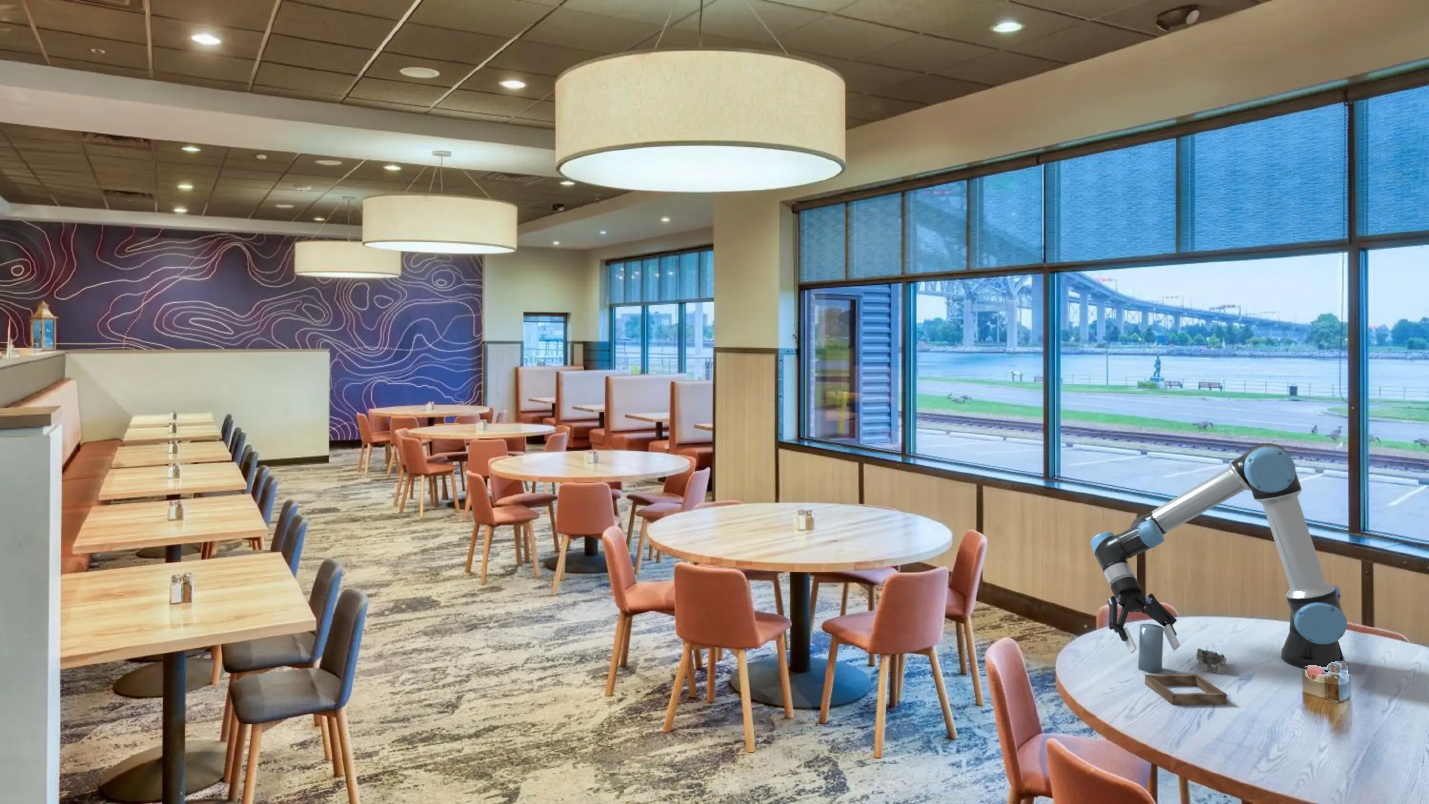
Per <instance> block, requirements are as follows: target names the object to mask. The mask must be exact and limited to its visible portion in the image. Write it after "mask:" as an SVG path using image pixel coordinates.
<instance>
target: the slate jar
mask: <svg viewBox="0 0 1429 804" xmlns="http://www.w3.org/2000/svg"><path fill="white" fill-rule="evenodd" d="M1163 629H1164V626H1162V625H1160V624H1153V623H1142V624H1140V625H1139V636H1138V637H1139V639H1138V666H1137V668H1138V669H1139V670H1140V671H1143V672H1146V673H1149V674H1150V673H1151V674H1159V673H1161V672H1163V652H1164V651H1163V649H1164V631H1163Z"/></svg>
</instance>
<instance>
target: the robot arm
mask: <svg viewBox="0 0 1429 804" xmlns="http://www.w3.org/2000/svg"><path fill="white" fill-rule="evenodd" d="M1295 464H1296V463H1294V460H1293V458H1292V457H1291V456H1290V453H1288V451H1287V450H1286V449H1285V448H1283V447H1282V446H1280V445H1279V444H1278V445H1277V444H1274V443H1269V442H1268V443H1259V444H1257V445H1255V446H1253V447H1252V448H1250V449H1249V450H1247V452H1245V453H1244V454H1242V455H1241V456H1239V457H1238V458H1236V459H1234V460H1232V461H1230V462H1229V466H1228V468H1225V469H1224V470H1221V471H1220V472H1219V473H1217V474H1215V475H1213V476H1212V477H1210V478H1208V479H1206V480H1205V481H1202V482H1201V483H1199V484H1198V485H1196V486H1193V487H1192V488H1190V489H1189V490H1186V491H1185V492H1183V493H1181V494H1180V495H1178V496H1177V497H1175V498H1173V499H1171V500H1169V501H1167V502H1166V503H1164V504H1162V505H1160V506H1158V507H1157V508H1155V509H1154V510H1152V511H1150V512H1149V513H1146V514H1145V515H1143V516H1139V517H1137V518H1135V519H1134V520H1133V521H1132V522H1131V524H1130V528H1129V529H1126V530H1125V531H1122V532H1121V533H1118V534H1116V535H1115V533H1113V532H1112V531H1104V532H1100V533H1098V534H1095V535H1094V536H1093V537H1092V538H1091V540H1090V546H1091V548H1092V550H1093V551H1092V552H1093V554H1094V557H1095V558H1096V560H1097V562H1098V565H1099V566H1100V568H1101V570H1102V572H1103V574H1104V575H1103V576H1104V577H1105V579H1106V582H1107V583H1108V585H1109V587H1110V589H1111V592H1112V593H1113V595H1111V596H1110V597H1109V599H1108V600H1107V604H1108V606H1109V609H1108V611H1109V612H1108V614H1109V615H1108V629H1109V630H1111V631H1112V630H1114V631H1113V632H1115V633H1117V634H1118V636H1119V638H1120V640H1121V641H1122V642H1124V644H1125V645H1126V648H1127V650H1128V652H1129V654H1133V653H1134V652H1136V651H1137V649H1138V647H1137V646H1136V643H1135V641H1134V639H1133V637H1132V635H1131V632H1130V631H1129V628H1128V626H1127V627H1126V626H1125V624H1126V621H1127V618H1128V615H1129V613H1142V614H1145V615H1147V616H1148V617H1149V618H1151V619H1152V620H1154V621H1155V622H1156V623H1158V625H1160V626H1161V627H1163V628H1164V629H1163V634H1164V635H1165V636H1166V639H1167V640H1168V643H1169V645H1170V647H1171V649H1172V650H1173V651H1176V650H1177V649H1178V648H1180V647H1181V643H1180V642H1179V639H1178V637H1177V632H1176V630H1175V628H1174V624H1175V623H1177V618H1176V617H1175V616H1174V615H1172V613H1170V611H1169V610H1167V609H1166V608H1165V606H1164V605H1162V604H1161V603H1160V601H1158V600H1157V599H1156V597H1155V595H1154V594H1153V593H1149V594H1148V595H1144V594H1143V592H1142V588H1141V585H1140V583H1139V581H1138V580H1137V578H1136V575H1135V573H1134V572H1133V569H1132V568H1131V565H1130V564H1129V562H1128V560H1129V559H1131V558H1133V557H1135V556H1137V555H1140V554H1142V553H1143V552H1146V551H1148V550H1151V549H1153V548H1156V547H1157V546H1159V545H1160V544H1162V543H1164V541H1165V537H1164V535H1165V534H1167V533H1168V532H1170V531H1173V530H1175V529H1176V528H1178V527H1180V526H1182V525H1183V524H1186V523H1187V522H1189V521H1191V520H1192V519H1194V518H1196V517H1198V516H1201V515H1202V514H1203V513H1206V512H1207V511H1209V510H1211V509H1213V508H1214V507H1216V506H1219V505H1220V504H1222V503H1224V502H1226V501H1228V500H1229V499H1231V498H1233V497H1235V496H1237V495H1238V494H1240V493H1242V492H1244V491H1251V494H1252V497H1253V499H1254V500H1255V501H1256V502H1258V503H1260V504H1261V505H1262V507H1263V509H1264V513H1265V516H1266V519H1267V521H1268V525H1269V528H1270V531H1271V534H1272V537H1273V538H1272V539H1273V541H1274V543H1275V547H1276V549H1277V552H1278V556H1279V559H1280V561H1281V564H1282V567H1283V571H1284V574H1285V577H1286V579H1287V584H1288V586H1289V589H1288V591H1287V592H1286V594H1285V597H1286V599H1287V603H1288V606H1289V608H1290V615H1289V632H1288V635H1287V637H1286V640H1285V642H1284V645H1283V647H1282V648H1281V650H1280V651H1281V655H1280V658H1281V660H1282V661H1284V662H1285V663H1287V664H1289V665H1292V666H1295V667H1299V668H1302V669H1305V668H1304V667H1305V666H1308V665H1317V666H1321V667H1327V665H1328V664H1329V663H1331V662H1335V661H1344V662H1345V656H1344V655H1343V651H1342V648H1341V645H1340V642H1339V640H1340V639H1341V638H1342V637H1344V635H1345V633H1346V631H1347V626H1348V622H1347V617H1346V615H1345V614H1344V612H1343V609H1342V606H1341V604H1340V603H1341V600H1340V599H1341V597H1342V595H1341V589H1340V587H1339V586H1338V585H1334V584H1330V583H1328V582H1327V581H1326V579H1325V576H1324V572H1323V569H1322V567H1321V563H1320V560H1319V558H1318V554H1317V551H1316V549H1315V545H1314V542H1313V539H1312V536H1311V534H1310V530H1309V527H1308V525H1307V522H1306V521H1307V520H1306V519H1305V515H1304V513H1303V509H1302V506H1301V503H1300V500H1299V498H1298V497H1299V495H1300V493H1301V492H1302V486H1301V484H1300V483H1301V482H1300V480H1299V476H1298V474H1297V471H1296V465H1295ZM1118 606H1121V609H1120V614H1119V618H1118ZM1124 626H1125V627H1124Z"/></svg>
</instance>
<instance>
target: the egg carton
mask: <svg viewBox="0 0 1429 804" xmlns="http://www.w3.org/2000/svg"><path fill="white" fill-rule="evenodd" d="M1195 656H1196V657H1195V659H1196V660H1197V669H1198V670H1199V671H1202V672H1205V673H1208V672H1214V673H1216V674H1219V675H1221V674H1226V670H1227V665H1226V663H1227V658H1226V657H1225V654H1223V653H1221V654H1218V652H1217V651H1215V652H1214V651H1211V650H1210V651H1209V650H1208V649H1207V650H1204V649H1201V648H1197V650H1196V655H1195ZM1205 661H1206V663H1205Z"/></svg>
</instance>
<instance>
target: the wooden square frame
mask: <svg viewBox="0 0 1429 804" xmlns="http://www.w3.org/2000/svg"><path fill="white" fill-rule="evenodd" d="M1144 684H1145V686H1147V687H1148V688H1149V689H1151V690H1152V691H1153V692H1155V693H1156V694H1157V695H1159V696H1160V697H1161V698H1163V699H1164V700H1166V701H1167V702H1168V703H1170V704H1171V705H1227V704H1228V702H1227V699H1228V694H1227V693H1226V692H1225V691H1222V689H1220V688H1218V687H1217V686H1215V685H1214V684H1212V683H1211V682H1209V681H1207V680H1206V679H1204V678H1203V677H1201V676H1200V675H1198V674H1197V673H1196V674H1195V673H1193V674H1185V673H1184V674H1182V673H1181V674H1144ZM1167 686H1196V687H1197V688H1198V689H1200V690H1202V692H1190V693H1189V692H1188V693H1187V692H1183V693H1182V692H1179V693H1178V692H1177V693H1176V692H1173V691H1172V690H1171V689H1169V688H1167Z"/></svg>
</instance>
